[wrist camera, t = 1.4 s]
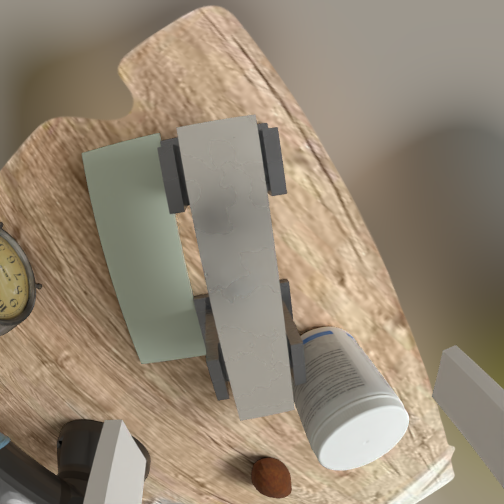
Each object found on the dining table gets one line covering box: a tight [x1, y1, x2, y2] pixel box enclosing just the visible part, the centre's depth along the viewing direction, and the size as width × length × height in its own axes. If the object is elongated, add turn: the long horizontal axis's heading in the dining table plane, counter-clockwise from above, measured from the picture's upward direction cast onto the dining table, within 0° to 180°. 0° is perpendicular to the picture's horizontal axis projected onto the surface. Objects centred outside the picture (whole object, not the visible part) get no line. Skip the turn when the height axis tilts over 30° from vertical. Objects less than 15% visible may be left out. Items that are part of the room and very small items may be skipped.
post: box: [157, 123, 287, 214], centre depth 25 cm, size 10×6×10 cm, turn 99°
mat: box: [82, 133, 206, 364], centre depth 31 cm, size 8×24×1 cm, turn 9°
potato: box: [251, 458, 292, 498], centre depth 41 cm, size 6×12×6 cm, turn 26°
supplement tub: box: [291, 326, 409, 470], centre depth 31 cm, size 10×10×15 cm
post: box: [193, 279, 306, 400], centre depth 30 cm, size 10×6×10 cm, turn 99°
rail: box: [177, 115, 295, 421], centre depth 23 cm, size 4×22×4 cm, turn 9°
